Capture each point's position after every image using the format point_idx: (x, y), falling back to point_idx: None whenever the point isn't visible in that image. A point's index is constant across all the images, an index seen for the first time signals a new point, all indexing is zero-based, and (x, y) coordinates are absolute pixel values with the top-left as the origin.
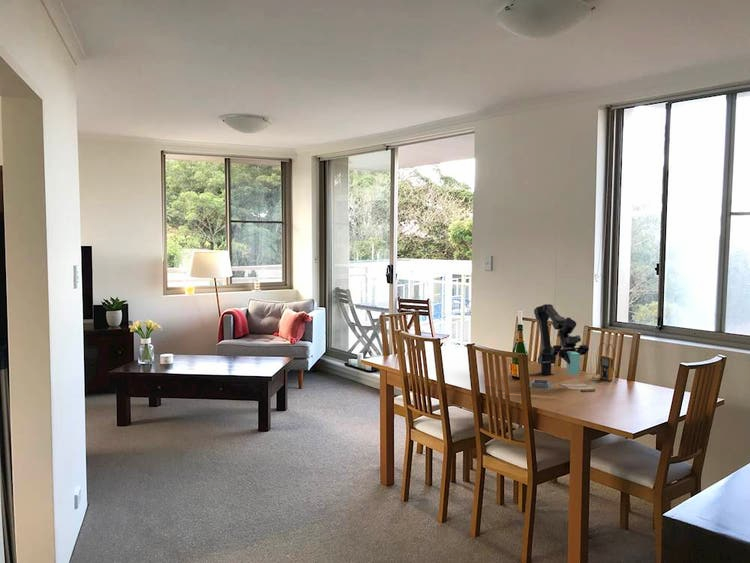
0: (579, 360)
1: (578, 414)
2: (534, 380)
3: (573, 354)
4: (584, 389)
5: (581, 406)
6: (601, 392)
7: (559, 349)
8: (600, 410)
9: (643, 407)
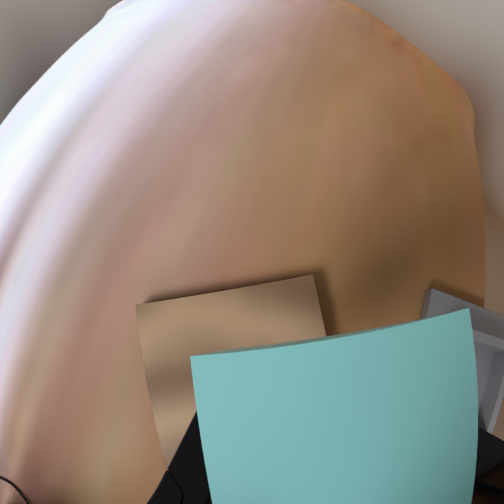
0: (196, 412)
1: (340, 13)
2: (494, 408)
3: (400, 325)
4: (213, 292)
5: (316, 56)
6: (114, 278)
7: None
8: (259, 27)
9: (89, 67)
